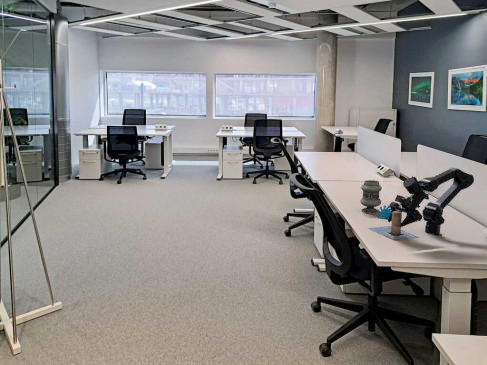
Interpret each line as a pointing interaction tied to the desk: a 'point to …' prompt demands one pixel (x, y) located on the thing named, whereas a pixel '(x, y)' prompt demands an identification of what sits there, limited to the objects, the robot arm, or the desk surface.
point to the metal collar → (402, 236)
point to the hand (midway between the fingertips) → (394, 224)
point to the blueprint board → (388, 229)
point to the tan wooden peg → (396, 223)
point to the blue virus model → (384, 212)
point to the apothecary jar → (370, 195)
